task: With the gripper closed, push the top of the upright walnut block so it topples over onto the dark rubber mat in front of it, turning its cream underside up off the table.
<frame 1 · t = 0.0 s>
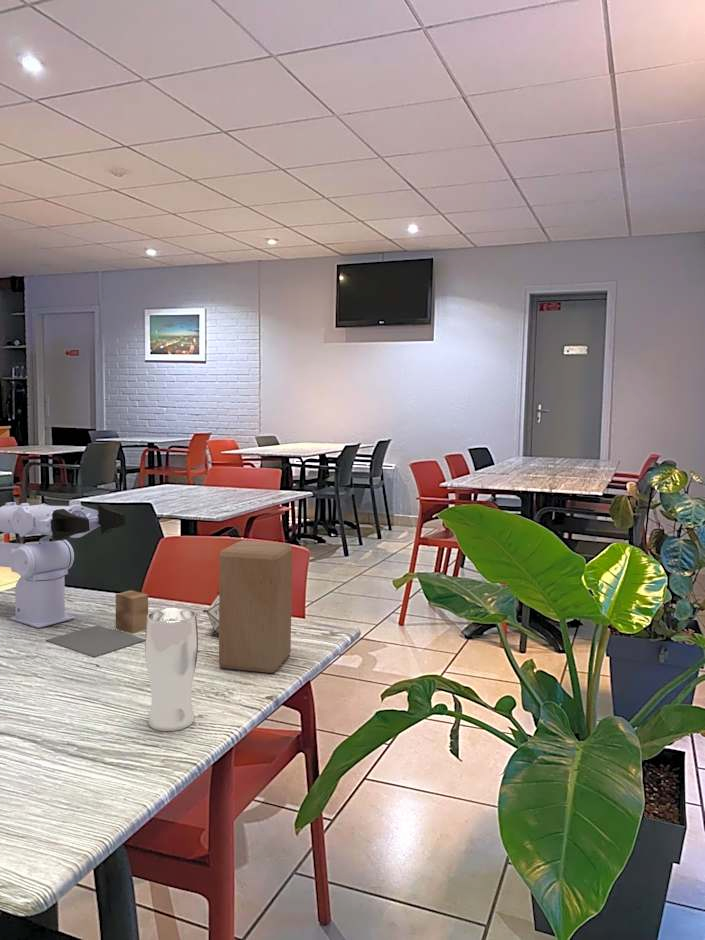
hand: (106, 522, 126), 22 cm above the table, tool horizontal, fingers open, 7 cm apart
block: (255, 663, 119), on the table
walnut block: (131, 630, 134), on the table
beer glass: (171, 723, 96), on the table
mat: (96, 640, 128), on the table
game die: (227, 634, 133), on the table
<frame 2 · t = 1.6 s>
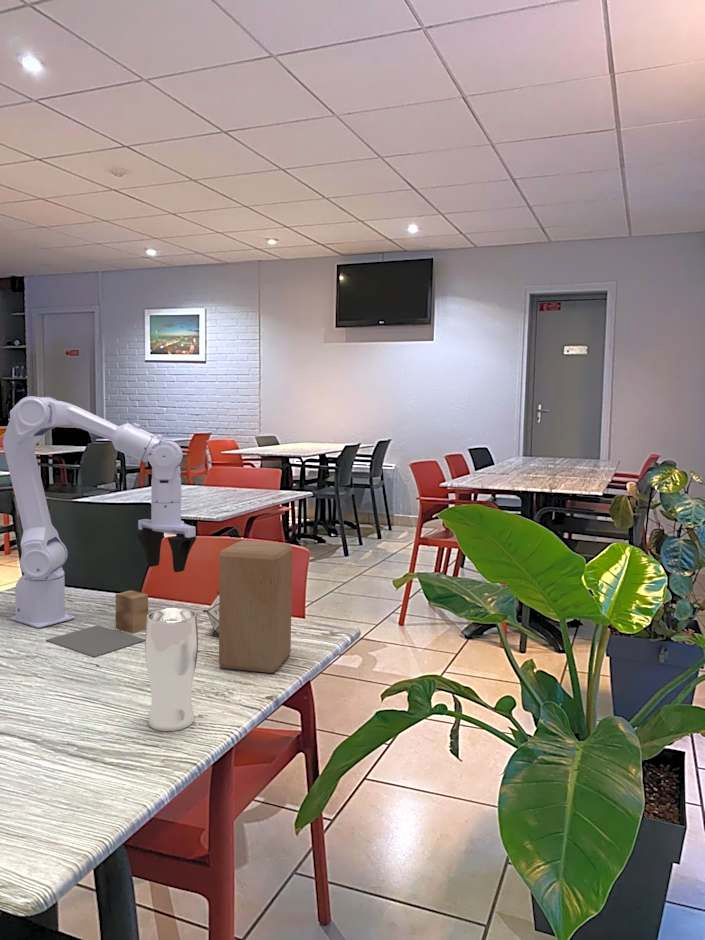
hand: (166, 568, 140), 10 cm above the table, tool pointing down, fingers open, 7 cm apart
nothing on the table moved.
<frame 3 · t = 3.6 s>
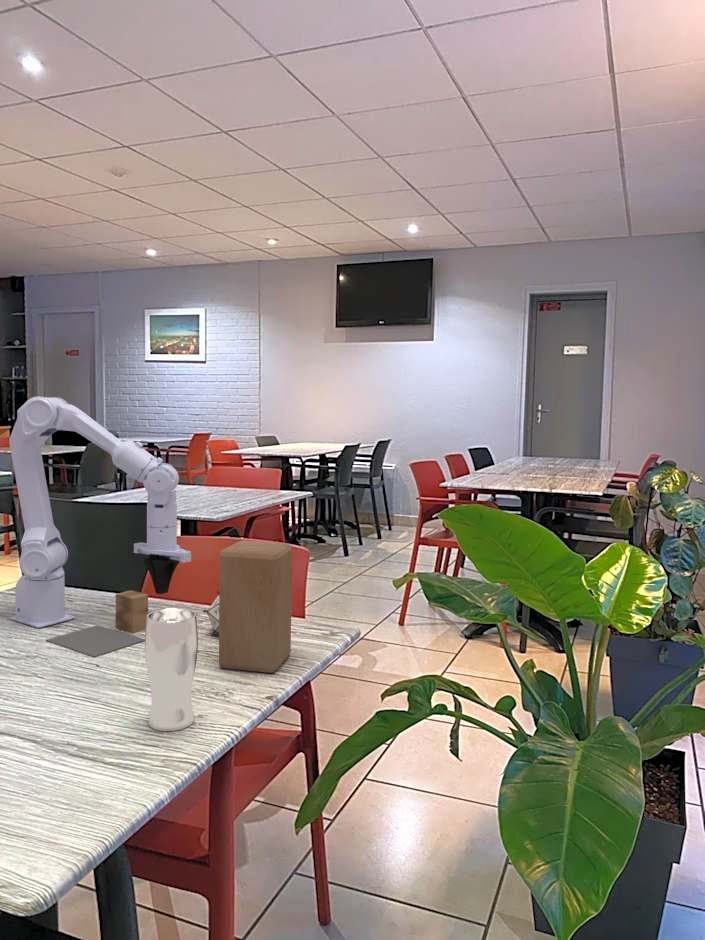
hand: (161, 592, 140), 6 cm above the table, tool pointing down, fingers closed
nothing on the table moved.
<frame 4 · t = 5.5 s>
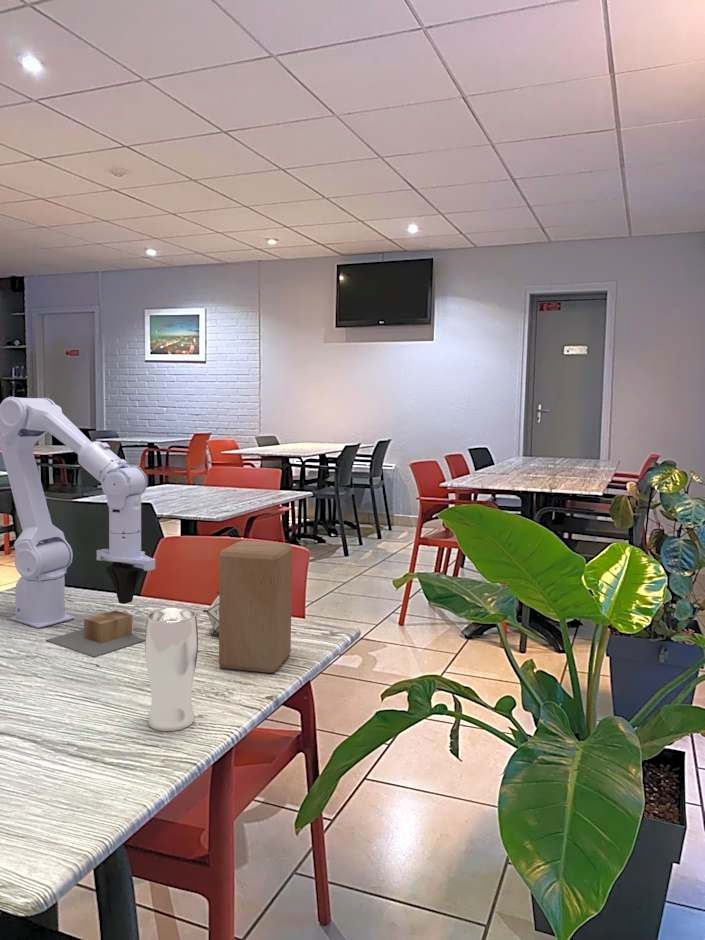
hand: (125, 602, 133), 6 cm above the table, tool pointing down, fingers closed
walnut block: (124, 621, 133), point 2 cm above the table, tilted 90°, touching mat
everything else where it was.
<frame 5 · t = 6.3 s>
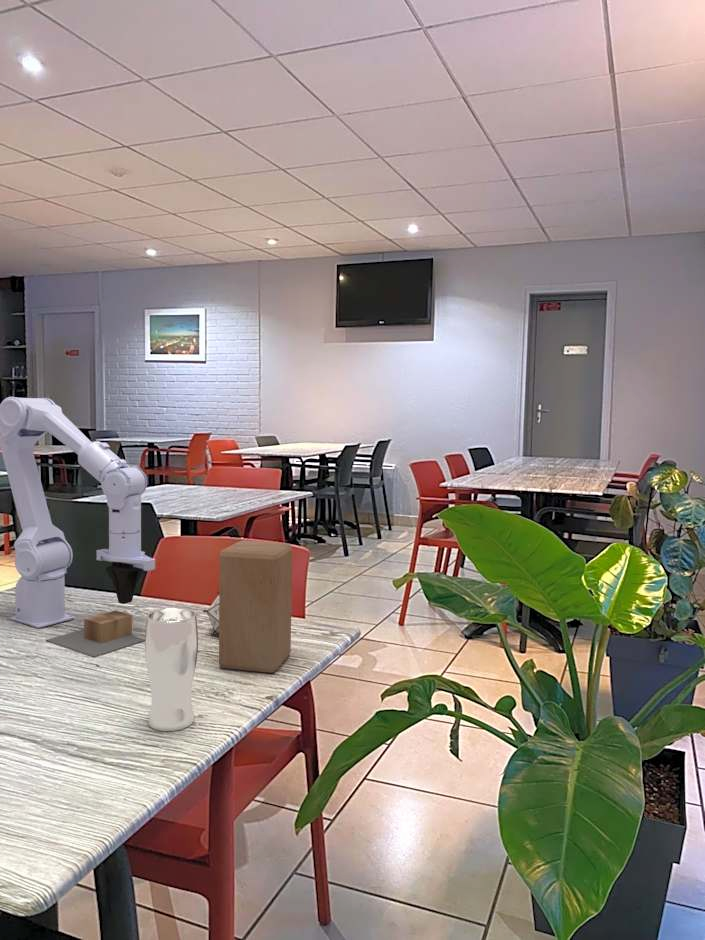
hand: (125, 602, 132), 6 cm above the table, tool pointing down, fingers closed
nothing on the table moved.
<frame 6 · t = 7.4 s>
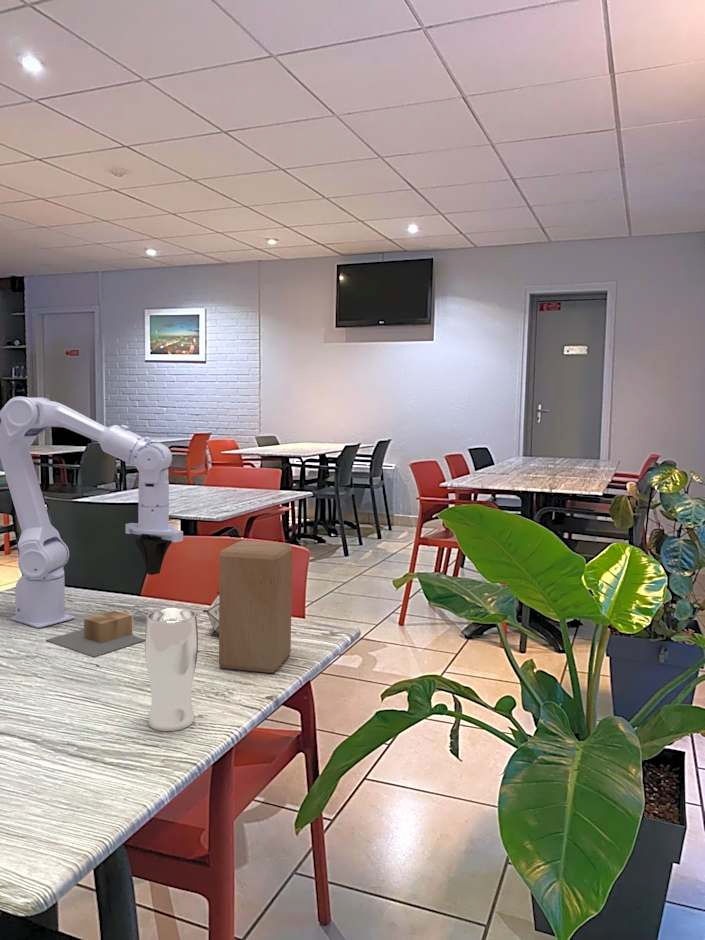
hand: (153, 573, 138), 10 cm above the table, tool pointing down, fingers closed
nothing on the table moved.
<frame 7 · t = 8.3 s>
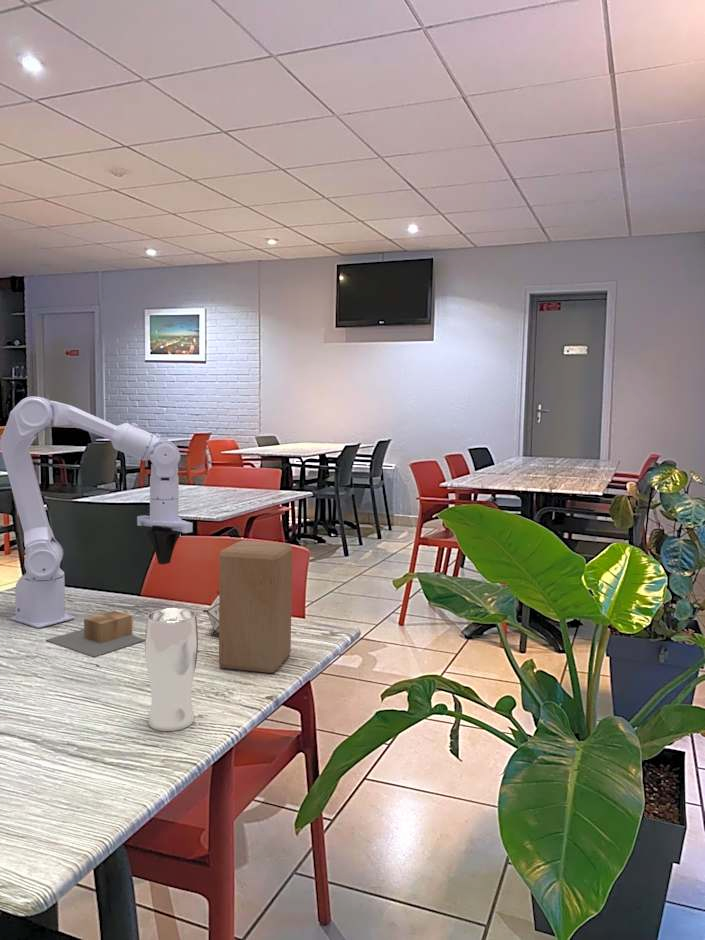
hand: (164, 563, 145), 10 cm above the table, tool pointing down, fingers closed
nothing on the table moved.
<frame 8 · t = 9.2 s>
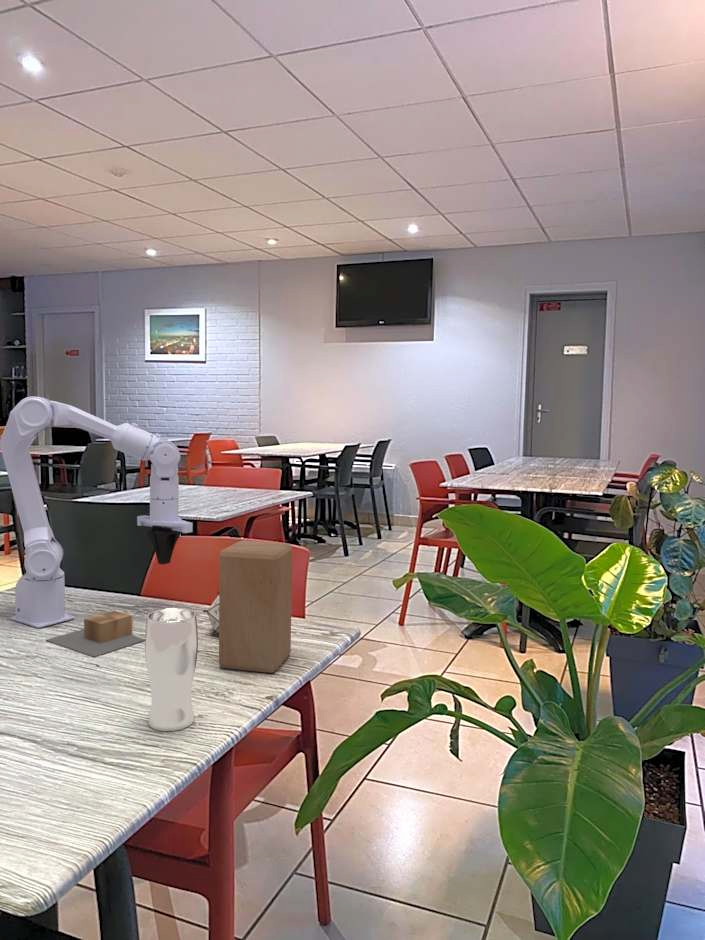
hand: (164, 563, 145), 10 cm above the table, tool pointing down, fingers closed
nothing on the table moved.
at the end: walnut block tilted 90°; walnut block inside the target area (3.8 cm from its centre), point 2.0 cm above the table; walnut block 6.3 cm from the mat (horizontally) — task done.
